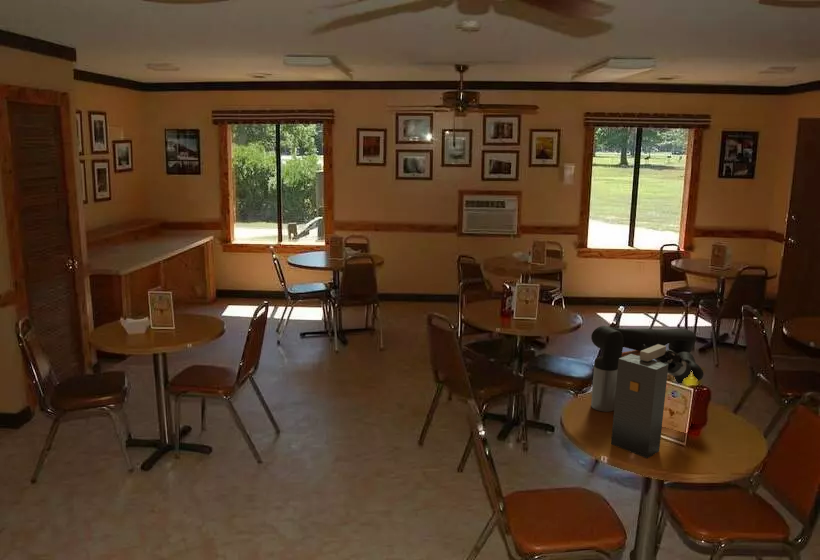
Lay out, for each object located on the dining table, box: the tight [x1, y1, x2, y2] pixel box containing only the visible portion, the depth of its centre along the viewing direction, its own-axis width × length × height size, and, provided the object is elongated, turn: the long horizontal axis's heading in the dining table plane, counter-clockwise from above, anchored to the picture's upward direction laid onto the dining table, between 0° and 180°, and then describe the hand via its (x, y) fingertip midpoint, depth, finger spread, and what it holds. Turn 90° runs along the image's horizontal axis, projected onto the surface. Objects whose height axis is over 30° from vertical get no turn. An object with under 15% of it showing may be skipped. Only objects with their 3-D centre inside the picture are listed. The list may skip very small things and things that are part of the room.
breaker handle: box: [640, 344, 667, 362], centre depth 230 cm, size 12×3×3 cm, turn 131°
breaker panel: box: [610, 354, 669, 459], centre depth 229 cm, size 9×14×32 cm, turn 41°
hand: (654, 350), depth 230 cm, fingers open, 8 cm apart
